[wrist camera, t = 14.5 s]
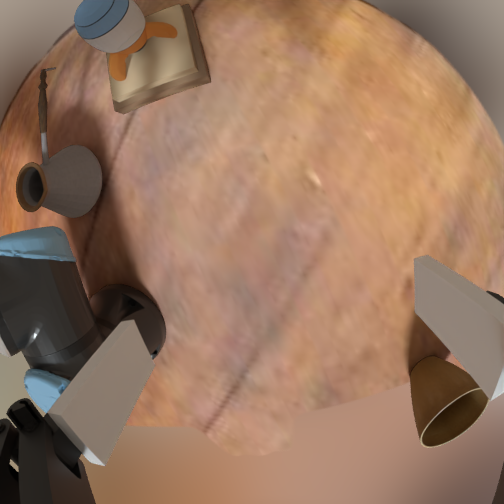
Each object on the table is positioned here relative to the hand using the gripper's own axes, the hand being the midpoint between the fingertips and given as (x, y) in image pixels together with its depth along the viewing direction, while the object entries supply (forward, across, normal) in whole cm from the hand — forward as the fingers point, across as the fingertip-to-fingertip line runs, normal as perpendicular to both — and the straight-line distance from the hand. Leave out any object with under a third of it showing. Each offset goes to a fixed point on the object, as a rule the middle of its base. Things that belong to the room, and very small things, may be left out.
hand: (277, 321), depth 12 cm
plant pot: (+29, +25, -37) cm, 53 cm away
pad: (+29, -10, +28) cm, 41 cm away
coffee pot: (+29, -25, +18) cm, 42 cm away
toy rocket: (+24, -10, +28) cm, 38 cm away
